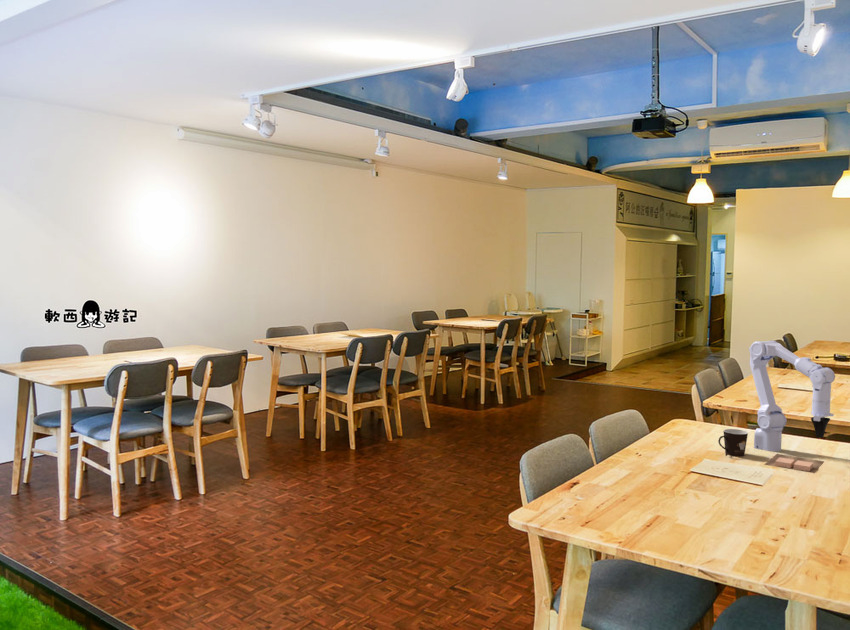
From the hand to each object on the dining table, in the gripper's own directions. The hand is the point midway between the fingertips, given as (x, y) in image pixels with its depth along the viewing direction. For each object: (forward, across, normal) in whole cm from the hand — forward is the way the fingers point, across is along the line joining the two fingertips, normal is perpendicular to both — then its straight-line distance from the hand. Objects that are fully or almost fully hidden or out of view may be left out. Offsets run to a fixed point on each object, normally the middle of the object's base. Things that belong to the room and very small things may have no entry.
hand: (819, 437), depth 251 cm
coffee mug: (+11, -10, +28) cm, 32 cm away
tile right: (+8, -10, +2) cm, 13 cm away
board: (+10, -8, +6) cm, 14 cm away
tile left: (+8, -10, +8) cm, 15 cm away
